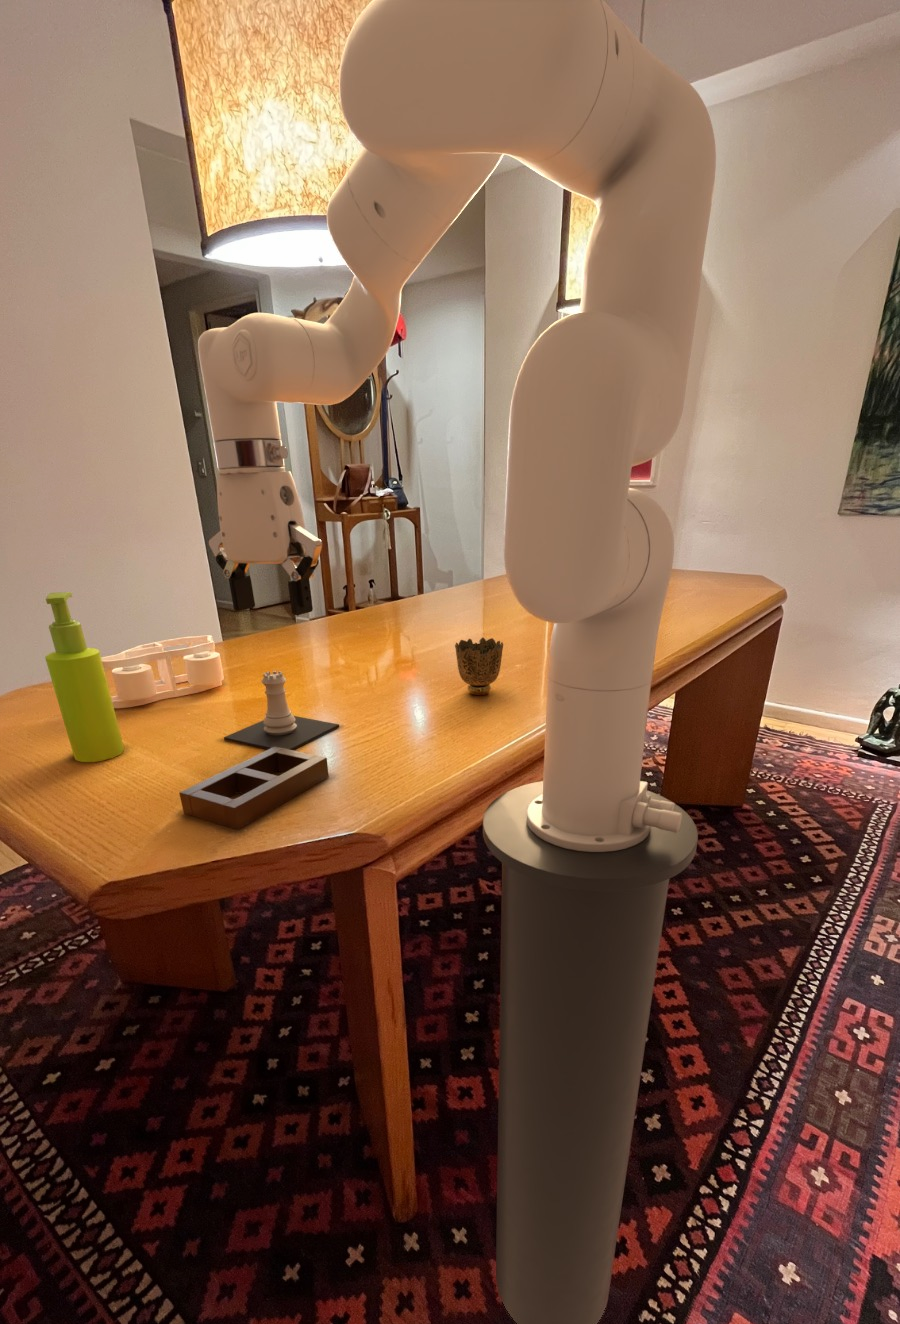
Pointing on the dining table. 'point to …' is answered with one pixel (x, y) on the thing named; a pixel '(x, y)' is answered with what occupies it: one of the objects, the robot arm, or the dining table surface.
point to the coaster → (291, 741)
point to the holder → (254, 787)
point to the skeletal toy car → (163, 671)
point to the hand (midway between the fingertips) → (273, 611)
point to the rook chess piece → (277, 706)
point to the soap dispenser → (81, 688)
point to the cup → (479, 663)
